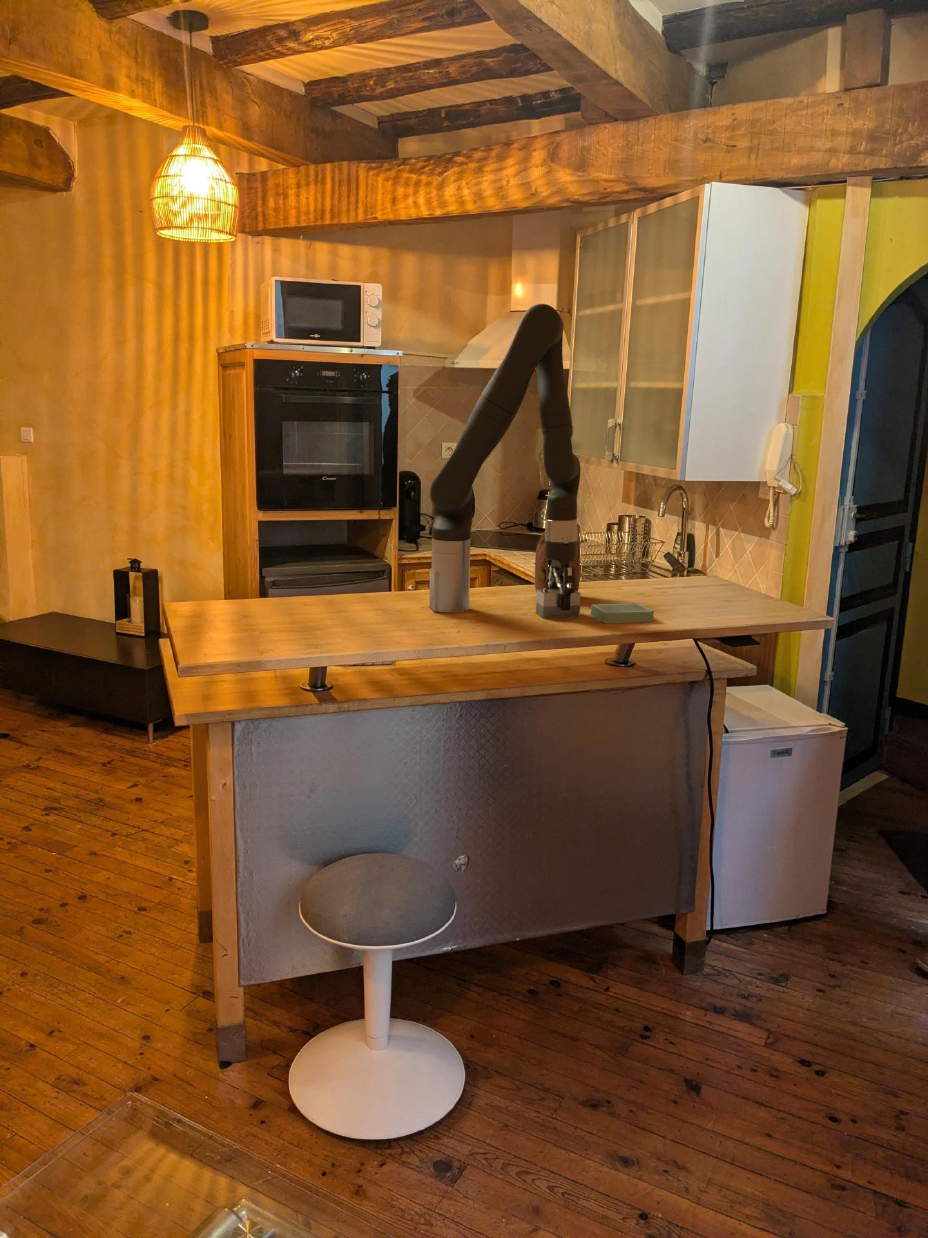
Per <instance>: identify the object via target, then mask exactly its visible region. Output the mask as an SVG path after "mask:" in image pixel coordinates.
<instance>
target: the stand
mask: <svg viewBox="0 0 928 1238" xmlns="http://www.w3.org/2000/svg"><path fill="white" fill-rule="evenodd" d="M654 613H655V611H654V610H652V609H650V608H648V607H646V606H644V605H643V604H641V603H638V602H637V603H610V604H609V603H606V604H605V603H604V604H602V603H601V604H591V607H590V616H592V617H593V618H595V619H596V620H598V619H599V620H600V622H601V621H602V622H603V624H604V623H606V624H626V623H627V624H628V623H632V624H633V623H634V624H635V623H653V622H654ZM599 620H598V621H599ZM602 622H601V623H602Z"/></svg>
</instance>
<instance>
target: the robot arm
mask: <svg viewBox="0 0 928 1238" xmlns="http://www.w3.org/2000/svg"><path fill="white" fill-rule="evenodd" d="M564 329H565V328H564V321H563V318H562V316H561V314H560V312H558V311H557V310H556V309H555V308H554V307H553V306H551V305H549V304H546V303H537V304H535V305H532V306H531V307H529V308H528V309H527V310H526V311H525V312H524V313H523V316H522V317H521V319H520V322H519V324H518V327H517V329H516V332H515V334H514V336H513V338H512V341H511V344H510V345H509V348H508V349H507V352H506V354H505V355H504V358H503V359H502V361H501V362H500V364H499V366H498V367H497V368H496V369H495V371H494V372H493V374H492V376H491V378H490V380H489V381H488V383H487V384H486V386H485V387H484V389H483V391H482V393H481V394H480V396H479V397H478V400H477V402H476V403H475V405H474V407H473V409H472V412H471V413H470V415H469V417H468V420H467V421H466V423H465V425H464V427H463V430H462V432H461V435H460V437H459V440H458V441H457V444H456V445H455V448H454V449H453V451H452V452H451V455H450V456H449V457H448V460H446V462H445V463H444V465H443V466H442V468H441V469H440V470H439V472H438V474H436V477H434V479H433V480H432V482H431V485H430V490H429V492H430V493H429V495H430V499H431V501H432V503H433V505H434V512H433V514H434V516H433V522H432V527H431V568H430V569H429V606H428V607H429V608H430V609H431V610H432V612H434V613H437V612H439V613H447V614H448V613H449V614H450V613H453V614H454V613H463V612H467V611H469V610H470V587H471V586H470V584H471V583H470V582H471V581H470V580H471V579H470V578H471V533H472V527H473V526H472V525H473V505H474V490H473V489H474V487H473V485H474V482H475V479H476V478H477V476H478V474H479V472H480V470H481V468H482V466H483V465H484V463H485V462H486V460H487V458H488V457H489V456H490V455H491V453H492V452H494V450H495V449H496V447H497V446H498V444H499V443H500V442H501V441H502V439H503V437H504V436H505V435H506V433H507V432H508V430H509V428H510V426H511V425H512V424H513V423H512V422H513V421H514V419H515V418H516V416H517V414H518V412H519V409H520V408H521V405H522V403H523V401H524V399H525V396H526V392H527V390H528V387H529V384H530V383H531V382H530V381H531V380H532V376H533V374H534V371H536V378H537V379H536V380H537V381H536V382H537V399H538V402H537V403H538V411H539V420H540V427H541V432H542V438H543V447H542V448H543V451H542V452H543V467H544V472H545V475H546V476H547V478H548V479H549V480H550V492H549V495H548V497H547V501H546V520H545V523H546V527H544V529H545V530H544V532H545V558H546V559H547V570H546V583H548V586H549V587H550V588H549V589H559V587H560V593H561V597H560V609H561V610H562V611H566V610H570V594H572V593H574V592H575V568H574V567H570V564H569V561H570V560H574V559H576V557H577V532H578V530H577V524H578V520H577V518H578V493H579V488H580V481H581V462H580V460H579V458H578V456H577V455H576V454H574V453H573V444H572V437H573V434H574V430H573V429H574V427H573V420H572V413H571V407H570V406H571V405H570V402H569V401H570V400H569V396H568V390H567V384H566V379H565V372H564V371H565V370H564V362H563V361H564V359H563V341H564V340H563V338H564V336H563V335H564ZM567 587H568V588H567Z"/></svg>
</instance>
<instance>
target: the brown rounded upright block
mask: <svg viewBox="0 0 928 1238" xmlns="http://www.w3.org/2000/svg"><path fill="white" fill-rule="evenodd" d="M544 525H545V527H546V522H545V523H544ZM545 527H544V528H545ZM577 530H578V532H577V557H576V559H574V560H570V561H569V564H570V567H574V568H575V590H576V591H578V592H579V589H580V588H579V587H580V580H581V579H580V578H581V568H580V566H581V565H580V564H581V537H580V536H581V535H580V531H581V526H580V524H578V523H577ZM535 550H536V551H535V557H534V558H535V559H534V561H535V563H534V588H535V593H536V595H537V589H543V588H548V589H549V588H550V587H549V586H548V583H546V570H547V559H546V558H545V531H544V532H543V534H542V535H541V536H540V539H539V542H538V544H537V546H536V548H535ZM567 588H568V587H567ZM559 589H560V587H559Z"/></svg>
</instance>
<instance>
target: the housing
mask: <svg viewBox="0 0 928 1238" xmlns="http://www.w3.org/2000/svg"><path fill="white" fill-rule="evenodd" d="M560 597H561V593H560V589H548V588H543V589H537V594H536V597H535V598H536V601H535V602H536V603H535V615H537V616H539V617H540V618H541V619H543V620H544V619H566V618H567V619H568V618H570V617H572V618H580V614H581V612H580V611H581V610H580V608H581V591H579V590H578V591H576V590H575V592H574V593H572V594H570V610H566V611H562V610H561V609H560ZM570 619H571V618H570Z"/></svg>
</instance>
